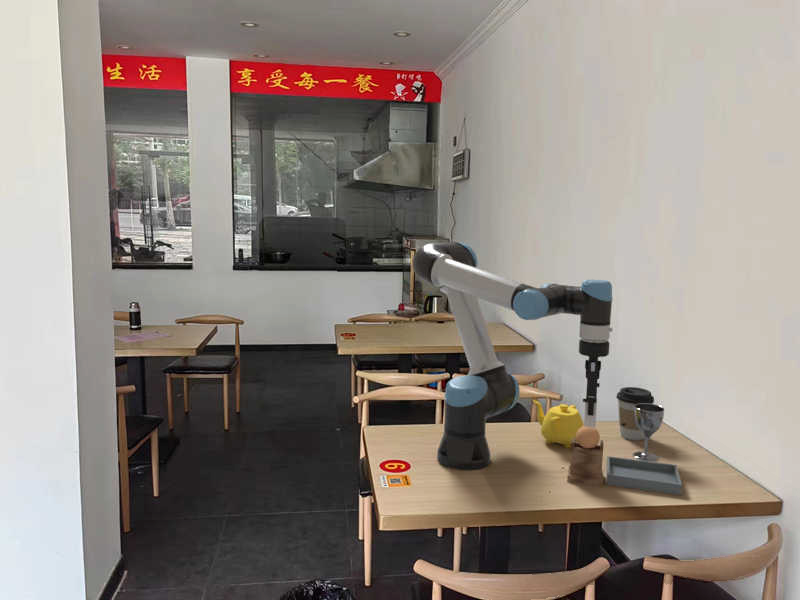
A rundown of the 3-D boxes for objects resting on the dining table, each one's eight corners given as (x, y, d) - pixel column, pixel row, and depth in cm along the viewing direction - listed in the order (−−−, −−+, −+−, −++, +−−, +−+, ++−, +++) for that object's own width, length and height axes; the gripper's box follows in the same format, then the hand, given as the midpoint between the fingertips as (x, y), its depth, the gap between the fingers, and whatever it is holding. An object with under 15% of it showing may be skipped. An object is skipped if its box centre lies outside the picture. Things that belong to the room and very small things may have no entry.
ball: (575, 450, 164) (576, 428, 163) (576, 442, 170) (577, 421, 169) (598, 453, 162) (600, 431, 161) (599, 445, 168) (600, 424, 167)
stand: (567, 481, 165) (569, 443, 164) (568, 470, 172) (570, 434, 170) (602, 486, 162) (605, 448, 161) (602, 475, 169) (605, 439, 168)
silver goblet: (662, 463, 178) (666, 412, 176) (633, 460, 180) (637, 410, 178) (657, 452, 186) (661, 404, 184) (629, 450, 188) (632, 402, 185)
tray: (606, 484, 164) (607, 474, 163) (606, 465, 176) (607, 456, 175) (681, 495, 158) (682, 484, 158) (675, 474, 170) (676, 465, 170)
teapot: (571, 432, 202) (573, 396, 200) (592, 448, 188) (595, 411, 186) (530, 434, 199) (532, 398, 198) (549, 451, 186) (551, 413, 184)
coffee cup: (607, 430, 204) (610, 386, 202) (640, 429, 205) (643, 385, 203) (623, 443, 193) (627, 396, 190) (658, 442, 194) (662, 396, 192)
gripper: (610, 350, 149) (605, 435, 152) (609, 331, 172) (605, 406, 175) (577, 348, 151) (573, 432, 154) (580, 330, 174) (577, 403, 177)
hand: (590, 418), depth 164 cm, fingers open, 13 cm apart
